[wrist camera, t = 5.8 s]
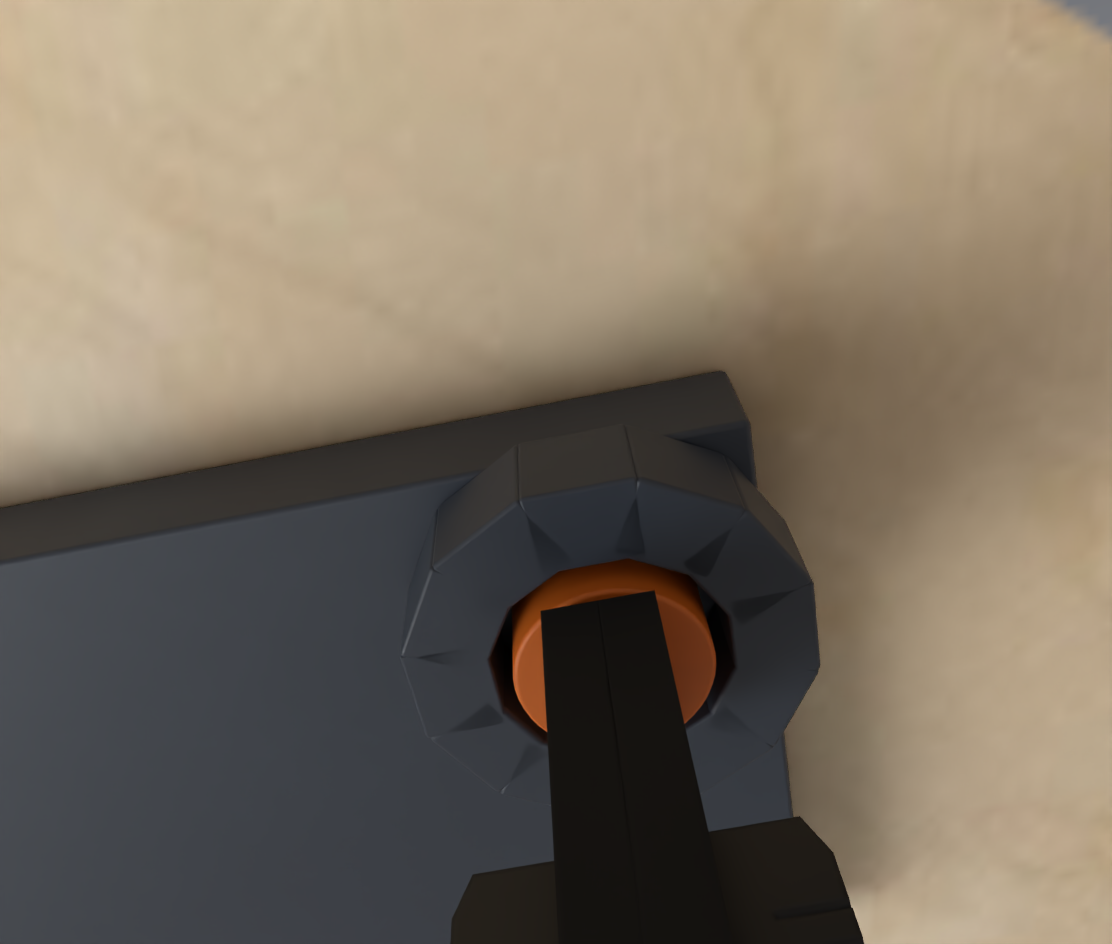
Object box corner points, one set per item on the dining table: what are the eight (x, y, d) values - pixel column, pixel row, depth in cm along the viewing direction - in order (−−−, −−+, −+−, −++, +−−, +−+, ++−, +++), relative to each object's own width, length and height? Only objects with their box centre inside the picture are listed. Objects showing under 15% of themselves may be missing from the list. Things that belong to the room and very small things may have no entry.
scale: (745, 342, 16) (802, 446, 13) (806, 913, 22) (855, 1073, 19) (-258, 535, 17) (-429, 676, 14) (77, 1033, 23) (12, 1205, 20)
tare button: (686, 512, 15) (704, 573, 13) (708, 663, 16) (727, 733, 15) (494, 547, 15) (492, 612, 14) (531, 694, 16) (534, 766, 15)
